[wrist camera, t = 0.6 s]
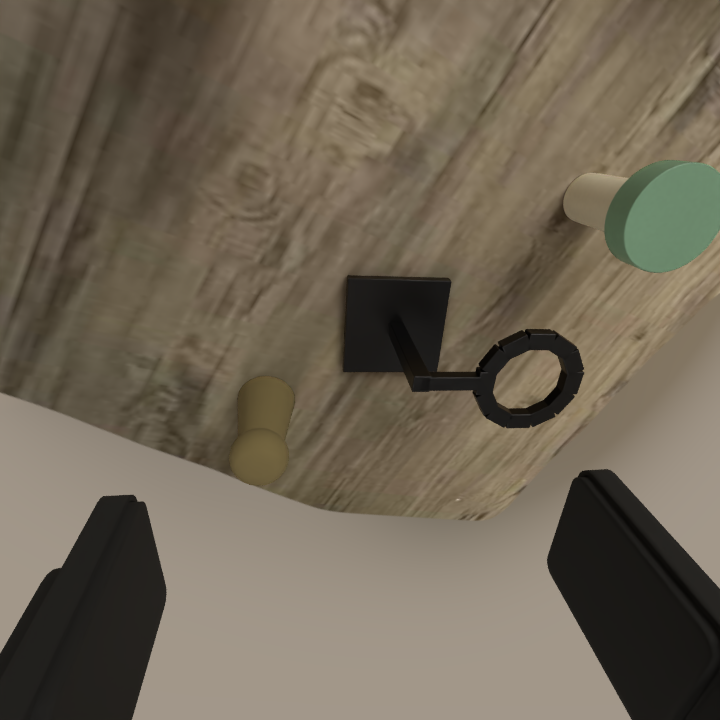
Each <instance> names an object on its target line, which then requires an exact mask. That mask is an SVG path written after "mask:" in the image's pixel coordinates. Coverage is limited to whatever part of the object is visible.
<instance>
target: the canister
mask: <svg viewBox="0 0 720 720" xmlns="http://www.w3.org/2000/svg"><path fill="white" fill-rule="evenodd" d="M563 207H564V211H565V213H566V215H567V217H568V218H569V219H571V220H572V221H575V222H578V223H580V224H583V225H586V226H589V227H592V228H595V229H598V230H600V231H603V232H604V233H605V240H606V243H607V246H608V248H609V250H610V251H611V253H612V254H613V255H614V256H615V257H616V258H618V259H619V260H620V261H623V262H625V263H627V264H630V265H632V266H634V267H637V268H639V269H641V270H644V271H647V272H653V273H662V272H668V271H672V270H675V269H677V268H680V267H682V266H684V265H686V264H688V263H689V262H691V261H692V260H694V259H695V258H696V257H697V256H699V255H700V254H701V253H702V252H703V251H704V250H705V249H706V248H707V247H708V246H709V244H710V243H711V242H712V241H713V239H714V238H715V236H716V235H717V233H718V231H719V230H720V173H719V172H718V171H717V170H716V169H714V168H713V167H711V166H709V165H707V164H704V163H698V162H687V161H677V160H664V161H659V162H655V163H652V164H650V165H648V166H646V167H644V168H642V169H640V170H639V171H637V172H636V173H635V174H633V175H632V176H631V177H630V178H624V177H618V176H611V175H605V174H599V173H586V174H583V175H581V176H579V177H578V178H576V179H575V180H574V181H573V182H572V183H571V184H570V186H569V187H568V189H567V191H566V193H565V196H564V200H563Z"/></svg>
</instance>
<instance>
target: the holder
mask: <svg viewBox="0 0 720 720" xmlns="http://www.w3.org/2000/svg"><path fill="white" fill-rule="evenodd" d="M450 287H451V280H450V279H449V278H426V277H388V276H351V275H348V276H347V292H346V312H345V332H344V352H343V372H404V373H405V375H406V378H407V380H408V383H409V385H410V387H411V390H412V392H429V391H447V390H473V395H474V397H475V399H476V402H477V404H478V406H479V408H480V410H481V412H482V414H483V415H484V416H485V417H486V418H487V419H489V420H491V421H492V422H494V423H496V424H498V425H500V426H502V427H503V428H504V427H506V428H529V427H530V425H531V426H532V427H534V426H536V425H538V424H541V423H543V422H545V421H547V420H549V419H552V418H554V417H555V414H554V413H556V414H559V413H560V412H561V411H562V410H563V409H564V408H565V407H566V406H567V405H568V404H569V403H570V402H571V400H572V399H573V398H574V397H575V396H574V395H573V394H577V393H578V390H579V387H580V384H581V381H582V378H583V375H584V372H583V371H582V370H584V367H583V364H582V360H581V357H580V353H579V350H578V349H577V347H576V346H575V345H574V344H573V343H571V342H570V341H569V340H567V339H566V338H564V337H563V336H561V335H560V334H558V333H557V332H556V331H552V330H550V329H526V330H525V332H524V331H523V330H521V331H519V332H517V333H515V334H513V335H511V336H508V337H506V338H504V339H502V340H500V341H498V344H499V346H497V345H496V344H495V345H494V346H493V347H492V348H491V349H490V350H489V352H488V353H487V354H486V355H485V356H484V358H483V359H482V360H481V361H480V362H479V366H480V367H476V372H437V368H438V362H439V356H440V349H441V343H442V337H443V331H444V325H445V318H446V312H447V306H448V300H449V293H450ZM529 350H549V351H551V352H552V353H554V354H555V355H557V356H558V359H559V362H560V365H561V368H562V369H561V373H560V376H559V379H558V382H557V386H556V387H555V388H554V389H553V390H552V392H551V393H550V394H549V395H548V396H547V397H546V398H545V399H544V400H542V401H540V402H538V403H536V404H534V405H532V406H529V407H527V408H513V409H508V408H506V407H505V406H503V405H501V404H499V403H498V402H496V399H495V397H494V394H493V388H494V384H495V380H496V376H497V374H498V373H499V372H500V370H501V369H502V368H503V367H504V366H505V365H506V363H507V362H508V361H509V360H510V359H512V358H514V357H516V356H518V355H520V354H522V353H524V352H526V351H529Z"/></svg>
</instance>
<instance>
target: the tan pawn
mask: <svg viewBox="0 0 720 720" xmlns="http://www.w3.org/2000/svg"><path fill="white" fill-rule="evenodd" d="M294 404H295V397H294V393H293V391H292V389H291V387H290V386H289V385H287V384H286V383H285V382H284V381H282V380H280V379H278V378H275V377H270V376H262V377H257V378H254V379H251V380H249V381H248V382H247V383H245V384H244V385H243V386H242V388H241V390H240V391H239V395H238V437H237V439H236V440H235V442H234V443H233V445H232V446H231V450H230V454H229V462H230V467H231V470H232V471H233V473H234V475H235V476H236V477H237V478H238V479H239V480H241V481H242V482H244V483H247V484H249V485H255V486H260V485H267V484H270V483H272V482H274V481H275V480H277V479H278V478H279V477H281V475H282V474H283V473H284V472H285V470H286V468H287V465H288V461H289V451H288V447H287V444H286V442H285V438H286V434H287V430H288V427H289V423H290V419H291V415H292V412H293V408H294Z"/></svg>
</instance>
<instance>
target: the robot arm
mask: <svg viewBox="0 0 720 720" xmlns="http://www.w3.org/2000/svg"><path fill="white" fill-rule="evenodd" d="M547 564H548V569H549V572H550V574H551V576H552V578H553V580H554V581H555V583H556V585H557V587H558V589H559V590H560V592H561V594H562V596H563V597H564V599H565V601H566V603H567V604H568V606H569V608H570V610H571V612H572V614H573V615H574V617H575V619H576V621H577V622H578V624H579V626H580V628H581V630H582V631H583V633H584V635H585V637H586V639H587V640H588V642H589V644H590V646H591V647H592V649H593V651H594V653H595V655H596V656H597V658H598V660H599V662H600V663H601V665H602V667H603V669H604V671H605V673H606V674H607V676H608V678H609V680H610V681H611V683H612V685H613V687H614V689H615V690H616V692H617V694H618V696H619V698H620V699H621V701H622V703H623V705H624V706H625V708H626V710H627V712H628V714H629V716H630V717H631V719H632V720H720V589H719V588H718V586H717V585H716V584H715V583H714V582H713V581H712V580H711V579H710V578H709V576H708V575H707V574H706V573H705V572H704V571H703V570H702V569H701V568H700V567H699V565H698V564H697V563H696V562H695V561H694V560H693V559H692V558H691V557H690V556H689V554H688V553H687V552H686V551H685V550H684V549H683V548H682V547H681V546H680V545H679V543H678V542H677V541H676V540H675V539H674V538H673V537H672V536H671V535H670V534H669V533H668V532H667V530H666V529H665V528H664V527H663V526H662V525H661V524H660V523H659V522H658V520H657V519H656V518H655V517H654V516H653V515H652V514H651V513H650V512H649V511H648V509H647V508H646V507H645V506H644V505H643V504H642V503H641V502H640V501H639V500H638V498H637V497H636V496H635V495H634V494H633V493H632V492H631V491H630V490H629V489H628V488H627V486H626V485H625V484H624V483H623V482H622V481H621V480H620V479H619V478H618V476H617V475H616V474H615V473H613V472H612V471H611V470H608V469H604V470H586V471H582V472H581V473H580V474H579V476H578V477H577V478H575V479H574V480H573V481H572V484H571V487H570V490H569V493H568V496H567V499H566V503H565V505H564V508H563V512H562V515H561V517H560V520H559V524H558V527H557V530H556V533H555V536H554V539H553V542H552V545H551V548H550V551H549V554H548V559H547ZM165 602H166V585H165V580H164V576H163V572H162V569H161V564H160V561H159V556H158V552H157V548H156V544H155V540H154V536H153V532H152V528H151V523H150V519H149V515H148V511H147V507H146V504H145V503H144V502H137V499H136V497H135V496H134V495H119V496H103V497H102V498H100V500H99V501H98V502H97V504H96V506H95V508H94V510H93V512H92V513H91V515H90V517H89V519H88V521H87V523H86V524H85V526H84V528H83V530H82V532H81V533H80V535H79V537H78V539H77V541H76V543H75V544H74V546H73V548H72V550H71V552H70V554H69V555H68V557H67V559H66V561H65V563H64V564H63V566H62V568H58V569H54V570H52V571H51V572H50V573H48V574H47V575H46V577H45V578H44V580H43V581H42V582H41V584H40V586H39V588H38V589H37V591H36V593H35V594H34V596H33V598H32V600H31V601H30V603H29V605H28V606H27V608H26V610H25V612H24V613H23V615H22V617H21V619H20V620H19V622H18V624H17V626H16V627H15V629H14V631H13V633H12V635H11V636H10V638H9V639H8V641H7V643H6V645H5V646H4V648H3V650H2V652H1V653H0V720H132V717H133V714H134V710H135V707H136V703H137V700H138V696H139V693H140V690H141V686H142V683H143V679H144V676H145V672H146V669H147V665H148V662H149V658H150V655H151V651H152V648H153V645H154V641H155V638H156V634H157V631H158V627H159V624H160V620H161V617H162V613H163V610H164V606H165Z"/></svg>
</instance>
